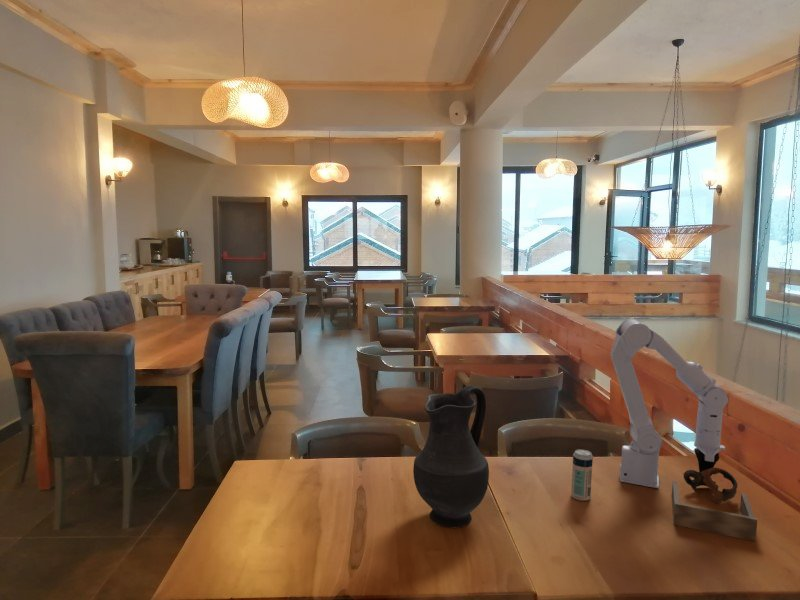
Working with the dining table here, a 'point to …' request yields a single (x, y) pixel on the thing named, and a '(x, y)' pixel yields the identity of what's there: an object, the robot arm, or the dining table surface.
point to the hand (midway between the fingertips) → (704, 477)
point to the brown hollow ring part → (711, 483)
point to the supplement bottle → (581, 475)
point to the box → (715, 518)
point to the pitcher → (453, 458)
